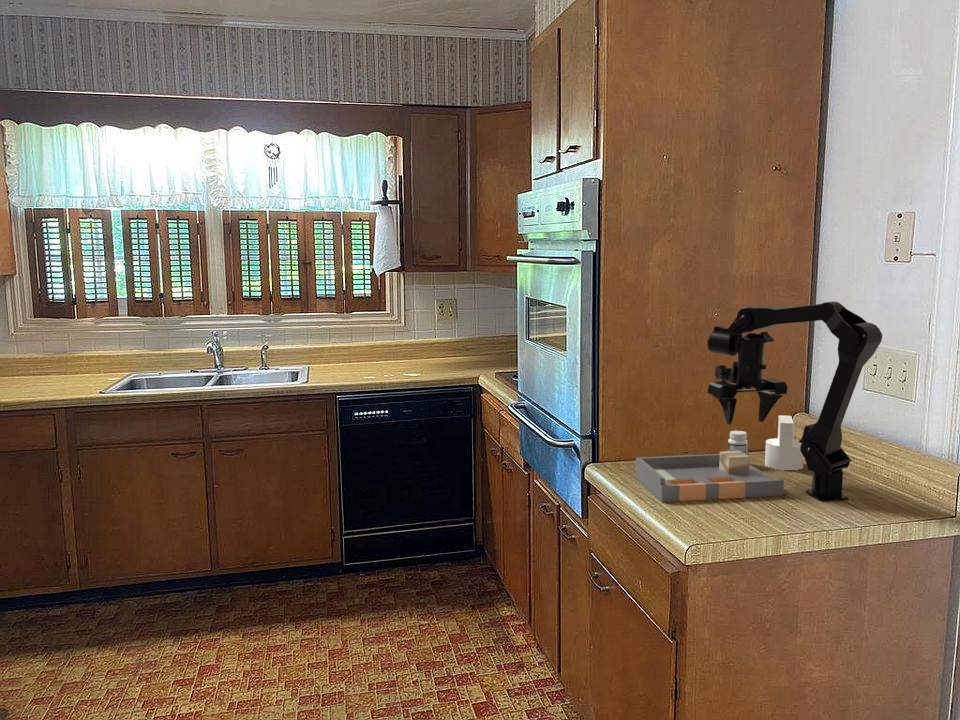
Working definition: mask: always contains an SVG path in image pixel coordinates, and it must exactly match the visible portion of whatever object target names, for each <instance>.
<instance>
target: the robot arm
mask: <svg viewBox="0 0 960 720" xmlns="http://www.w3.org/2000/svg"><path fill="white" fill-rule="evenodd" d="M817 321H818V322H819V321H822V323H824V324H825V325H826V327H827V328H828V330H829V331H830V332H831V334H832V335H833V336H834V337H836V338H837V339H838V344H837V354H838V355H837V356H838V364H837V367H836V369H835V372H834V375H833V378H832V381H831V383H830V386H829V389H828V392H827V394H826V398H825V400H824V403H823V405H822V409H821V410H820V414H819V417H818V420H817V421H816V422H814V423H812V424H808V425H805V426H804V428H803V432H802V437H800V439H799V440H798V441H799V443H801V447H800V451H801V452H802V455H803V456H804V461H805V464H806V467H807V471H810V472H812V480H811V481H812V483H811V489H805V493H807V494H808V495H810V496H812V497H813V498H815V499H817V500H818V501H821V502H828V501H845V500H849V497H848V496H847V495H845V494H843V482H844V472H843V470H844V469H848V468H849V466H850V464H851V462H852V459H851V458H850V457H849V455H848V454H847V453H846V451H844V449H843V448H842V447H841V446H842V442H843V433H842V423H843V421H844V418H845V416H846V413H847V410H848V407H849V405H850V403H851V400H852V397H853V394H854V391H855V388H856V386H857V383H858V380H859V377H860V375H861V372H862V370H863V368H864V366H865V365H866V364H867V363H868V362H869V360H870V359H871V358H872V357H873V356H874V354H875V353H876V351H877V349H878V347H880V344H881V343H882V340H883V333H882V331H881V329H880V328H879V327H878V326H877V325H876V324H874V323H872V322H867V320H865V319H864V318H863V317H861V316H860V315H858V314H856V313H854V312H852V311H850V310H849V309H847V308H846V307H845V306H844V305H843V304H842V303H840V302H838V301H826V302H822V303H817V304H807V305H800V306H789V307H776V306H771V305H770V306H768V305H767V306H766V305H752V306H744V307H741V308H740V309H739V311H738V312H737V314H736V317H735V319H734V320H733V321H732V323H731V324H730V325H729V326H728V327H726V326H723V325H715V326H714V327H713V331H712V332H711V333H710V335H709V337H708V339H707V349H708V350H709V352H710V353H712V354H718V355H724V356H730V357H734V356H737V361H733V363H732V367H730V368H729V367H727V366H726V365H725V364H724V365H716V366H715V370H714V376H715V379H716V380H721V381H711V382H710V383H709V384H708V386H707V394H709V395H712V397H713V398H715V399H717V400H718V402H719V403H720V405H721V406H720V407H722V411H723V415H724V417H725V423H726V425H730V426H731V425H732V423H733V419H734V416H735V411H736V405H737V403H738V402H737V401H738V398H736V395H737V394H738V393H747V392H748V393H749V392H757V395H758V397H759V408H758V409H759V410H758V421H759V422H761V423H763V422H765V420H766V418H767V417H768V415H769V414H770V412H771V411H772V408H773V407H774V406H775V405H776V403H777V402H778V400H780V399H781V398H783V395H787V394H788V388H789V387H788V385H787V383H786V381H783V380H779V379H776V378H773V377H771V378H762V377H763V370H766V369H767V364H765V363H764V356H765V355H764V353H765V352H764V351H765V344H767V343H773V342H774V341H775V340H774V338H773V337H772V336H771V335H770V334H769V332H768V331H763V330H766V329H769V328H774V327H776V326H779V325H784V324H793V323H794V324H795V323H796V324H797V323H806V322H817ZM755 331H761V332H760V333H754V332H755ZM746 333H747V334H746ZM743 334H746V335H743Z"/></svg>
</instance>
